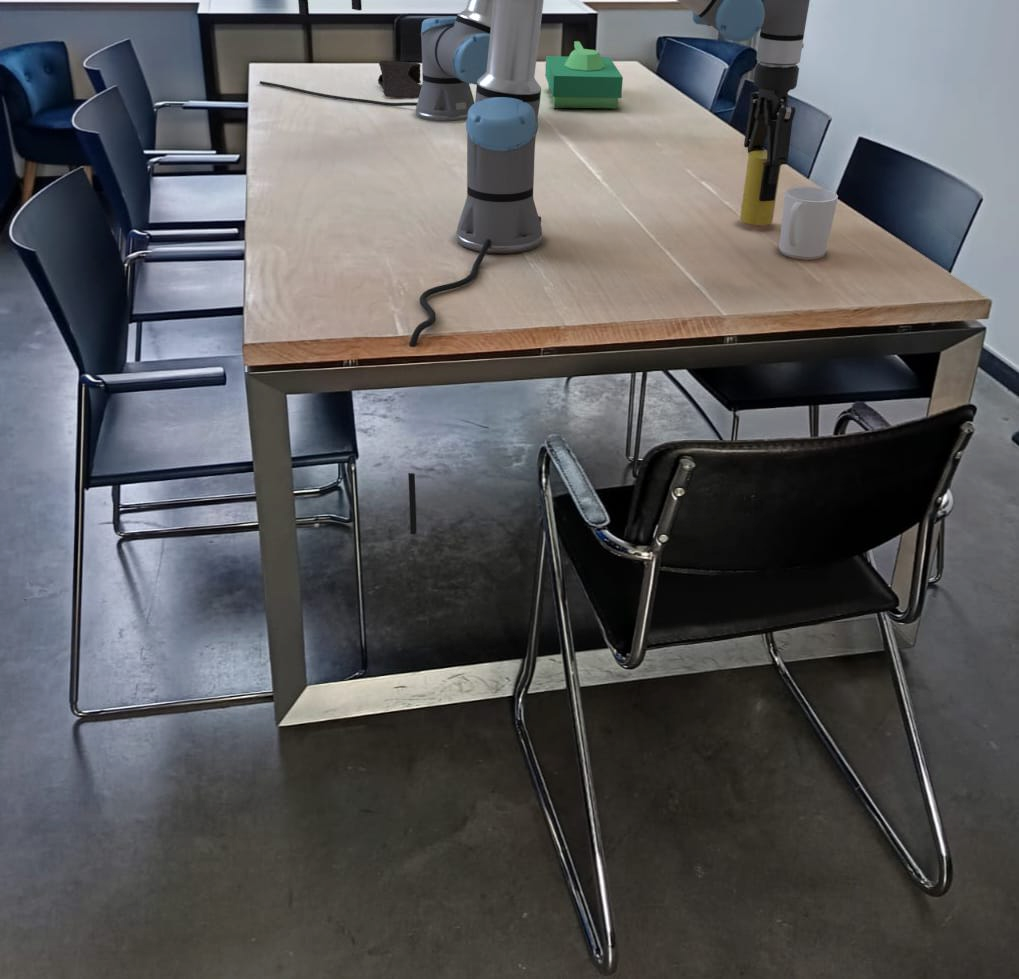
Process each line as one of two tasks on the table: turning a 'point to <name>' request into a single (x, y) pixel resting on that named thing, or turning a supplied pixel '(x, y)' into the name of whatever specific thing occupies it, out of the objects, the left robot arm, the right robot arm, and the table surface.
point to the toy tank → (583, 80)
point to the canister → (756, 192)
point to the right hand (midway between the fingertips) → (759, 194)
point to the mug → (806, 222)
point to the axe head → (400, 79)
